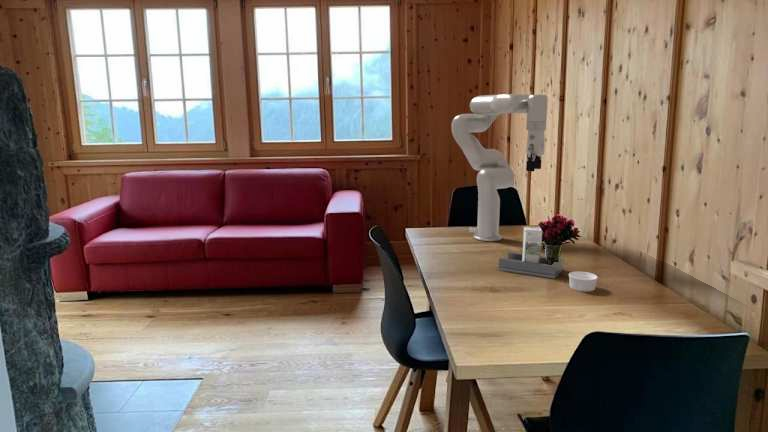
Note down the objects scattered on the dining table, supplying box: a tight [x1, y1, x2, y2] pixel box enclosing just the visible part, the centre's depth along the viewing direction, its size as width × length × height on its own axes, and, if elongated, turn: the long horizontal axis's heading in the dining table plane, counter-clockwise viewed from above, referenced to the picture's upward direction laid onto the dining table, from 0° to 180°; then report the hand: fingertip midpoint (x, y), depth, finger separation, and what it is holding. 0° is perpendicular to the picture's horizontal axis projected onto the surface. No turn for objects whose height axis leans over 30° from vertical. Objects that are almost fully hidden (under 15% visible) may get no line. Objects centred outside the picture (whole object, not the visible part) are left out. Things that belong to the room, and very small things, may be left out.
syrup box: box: [521, 226, 543, 263], centre depth 196 cm, size 6×6×14 cm
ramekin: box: [568, 271, 598, 293], centre depth 177 cm, size 9×9×4 cm
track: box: [497, 251, 564, 279], centre depth 197 cm, size 20×13×4 cm, turn 60°
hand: (533, 169), depth 217 cm, fingers open, 9 cm apart
